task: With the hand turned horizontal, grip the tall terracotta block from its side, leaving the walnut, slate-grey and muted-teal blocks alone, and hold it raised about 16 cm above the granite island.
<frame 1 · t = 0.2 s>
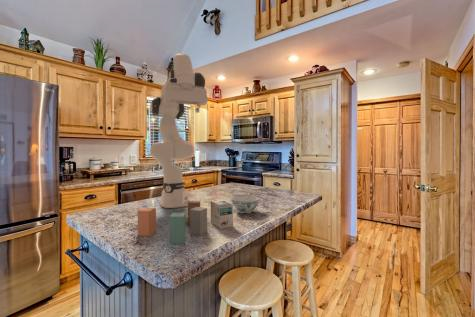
hand: (187, 111, 108), 52 cm above the worktop, tool tilted 20°, fingers open, 8 cm apart
chinaware: (245, 212, 128), on the worktop
terracotta block: (147, 233, 96), on the worktop
walnut block: (194, 223, 109), on the worktop
light bulb box: (221, 225, 107), on the worktop
muted teal block: (178, 240, 88), on the worktop
slate-grey block: (198, 232, 97), on the worktop
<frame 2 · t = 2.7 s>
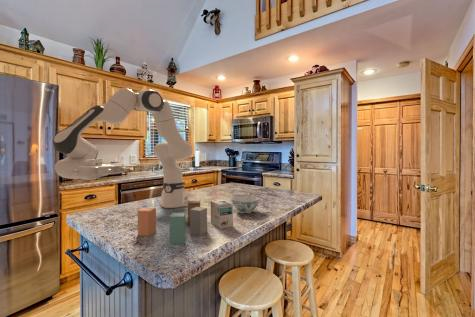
hand: (118, 170, 98), 25 cm above the worktop, tool horizontal, fingers open, 8 cm apart
nothing on the worktop moved.
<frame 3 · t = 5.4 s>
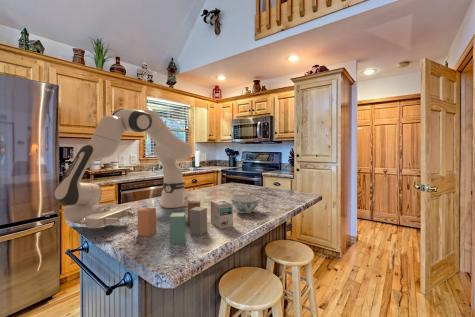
hand: (125, 217, 98), 6 cm above the worktop, tool horizontal, fingers open, 8 cm apart
nothing on the worktop moved.
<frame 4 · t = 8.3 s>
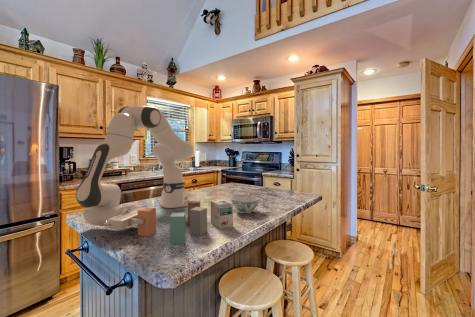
hand: (148, 219, 95), 6 cm above the worktop, tool horizontal, fingers closed on terracotta block, 5 cm apart
terracotta block: (147, 233, 96), on the worktop, touching gripper
everything else where it was.
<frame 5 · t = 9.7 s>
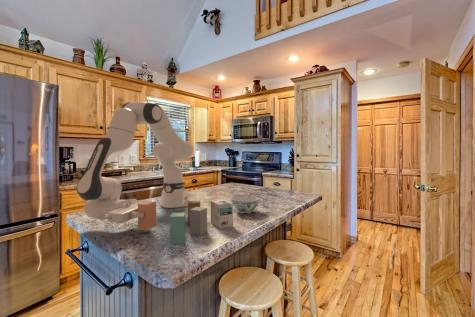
hand: (149, 212, 95), 9 cm above the worktop, tool horizontal, fingers closed on terracotta block, 5 cm apart
terracotta block: (147, 227, 96), point 3 cm above the worktop, touching gripper
everything else where it was.
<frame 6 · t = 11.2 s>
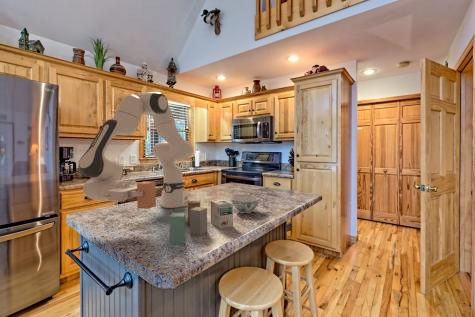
hand: (148, 192, 95), 17 cm above the worktop, tool horizontal, fingers closed on terracotta block, 5 cm apart
terracotta block: (146, 207, 95), point 11 cm above the worktop, touching gripper
everything else where it was.
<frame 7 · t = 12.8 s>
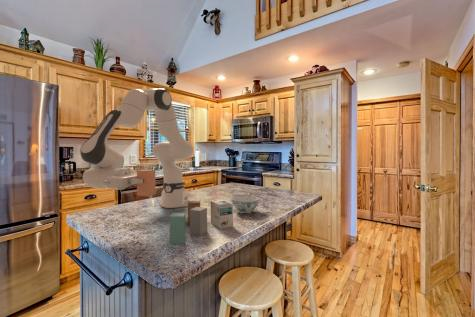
hand: (148, 180, 95), 22 cm above the worktop, tool horizontal, fingers closed on terracotta block, 5 cm apart
terracotta block: (146, 194, 95), point 16 cm above the worktop, touching gripper
everything else where it was.
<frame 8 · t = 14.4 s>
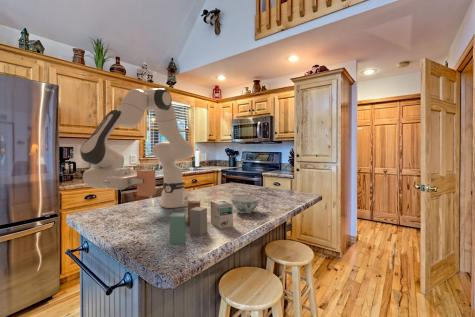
hand: (148, 180, 95), 22 cm above the worktop, tool horizontal, fingers closed on terracotta block, 5 cm apart
terracotta block: (146, 194, 95), point 16 cm above the worktop, touching gripper
everything else where it was.
at the end: the gripper is holding terracotta block; terracotta block point 15.9 cm above the worktop; muted teal block moved 0.0 cm from its start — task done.
